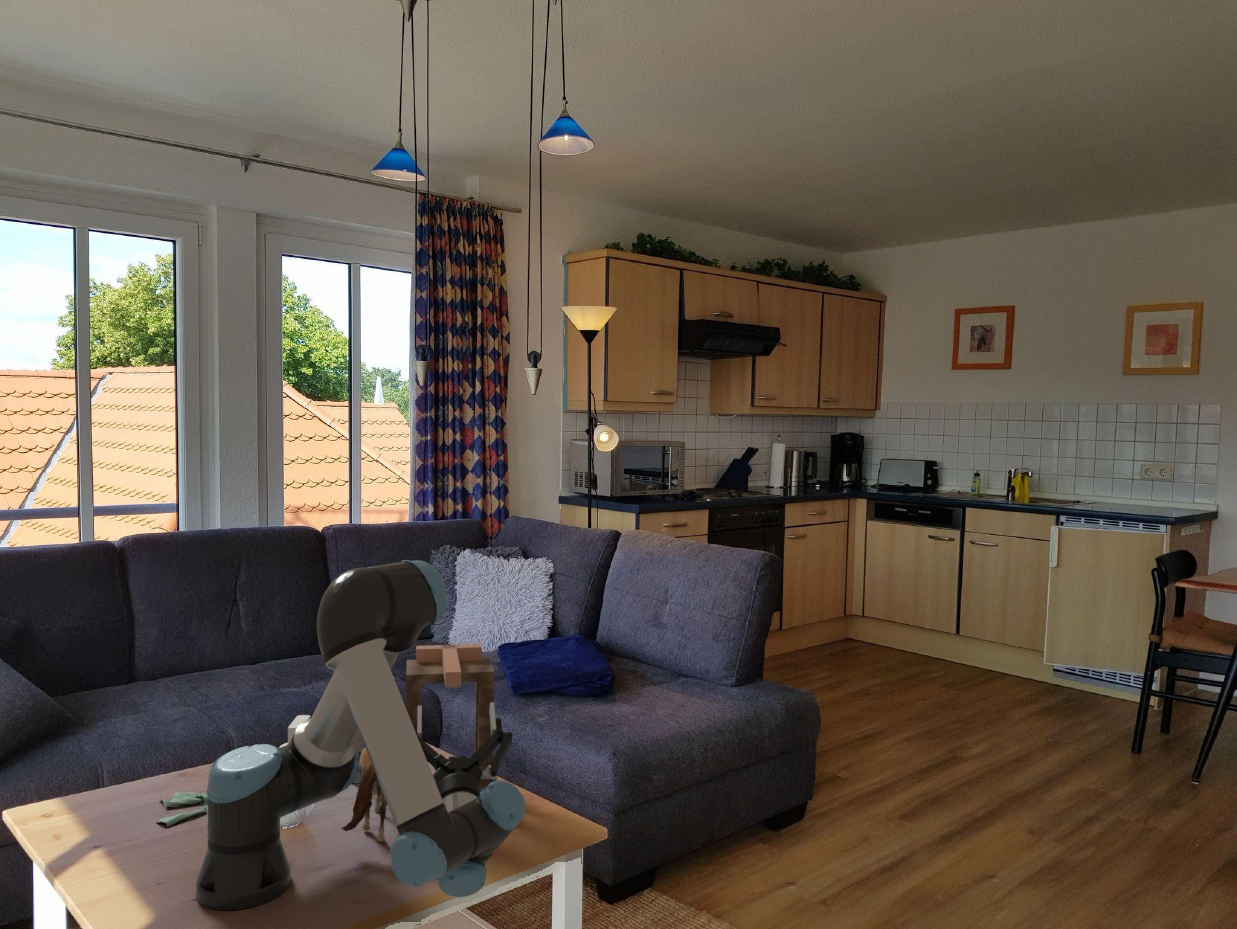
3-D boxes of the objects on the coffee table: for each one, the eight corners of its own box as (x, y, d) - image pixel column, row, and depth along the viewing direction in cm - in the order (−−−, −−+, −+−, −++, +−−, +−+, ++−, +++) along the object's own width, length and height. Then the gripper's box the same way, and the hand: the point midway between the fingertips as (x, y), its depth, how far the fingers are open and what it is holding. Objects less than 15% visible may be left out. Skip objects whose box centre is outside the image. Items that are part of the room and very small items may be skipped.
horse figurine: (376, 790, 197) (377, 699, 196) (411, 790, 197) (412, 699, 196) (339, 858, 166) (341, 750, 165) (381, 858, 166) (383, 750, 165)
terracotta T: (416, 688, 173) (416, 673, 172) (416, 659, 194) (416, 645, 194) (489, 685, 176) (489, 670, 176) (480, 657, 197) (480, 643, 197)
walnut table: (404, 818, 183) (406, 674, 182) (404, 794, 195) (406, 659, 194) (491, 811, 187) (494, 671, 186) (487, 789, 199) (489, 656, 198)
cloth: (246, 824, 180) (246, 812, 180) (124, 843, 171) (123, 831, 171) (242, 786, 199) (242, 775, 199) (131, 802, 189) (131, 791, 189)
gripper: (384, 822, 152) (388, 725, 169) (529, 812, 157) (519, 719, 175) (384, 794, 148) (388, 697, 165) (533, 785, 153) (522, 692, 171)
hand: (455, 708), depth 170 cm, fingers open, 13 cm apart
